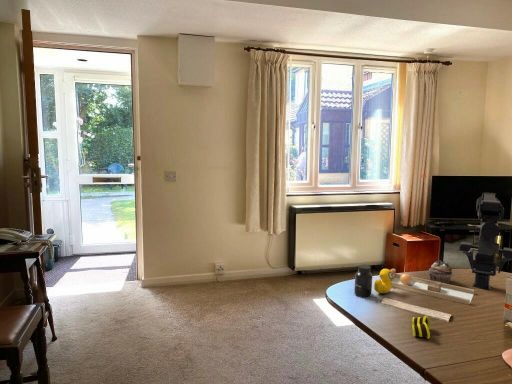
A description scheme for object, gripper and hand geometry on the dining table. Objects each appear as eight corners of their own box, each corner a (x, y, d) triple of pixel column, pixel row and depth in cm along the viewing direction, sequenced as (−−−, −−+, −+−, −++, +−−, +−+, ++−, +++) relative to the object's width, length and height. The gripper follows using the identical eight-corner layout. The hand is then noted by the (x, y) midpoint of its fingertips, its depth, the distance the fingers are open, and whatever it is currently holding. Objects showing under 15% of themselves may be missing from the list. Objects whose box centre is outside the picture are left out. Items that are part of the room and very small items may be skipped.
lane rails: (392, 276, 173) (392, 268, 172) (473, 294, 152) (474, 285, 152) (382, 285, 162) (382, 276, 161) (469, 305, 141) (470, 295, 141)
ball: (406, 285, 163) (400, 275, 165) (416, 281, 161) (409, 270, 162) (402, 288, 160) (396, 277, 162) (412, 283, 157) (405, 273, 159)
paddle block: (431, 280, 159) (441, 282, 156) (430, 287, 159) (440, 289, 157) (427, 285, 152) (438, 288, 150) (427, 292, 153) (437, 295, 150)
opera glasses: (414, 327, 125) (411, 313, 125) (430, 328, 123) (428, 313, 122) (412, 340, 116) (410, 325, 116) (431, 341, 114) (428, 326, 114)
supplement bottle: (353, 296, 149) (354, 268, 147) (355, 290, 155) (356, 263, 154) (370, 299, 146) (372, 270, 145) (372, 293, 153) (373, 265, 151)
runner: (395, 278, 171) (395, 277, 171) (473, 295, 152) (473, 294, 152) (386, 285, 161) (387, 284, 161) (469, 304, 142) (469, 303, 142)
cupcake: (452, 280, 168) (453, 259, 167) (450, 287, 160) (452, 265, 159) (429, 276, 173) (430, 256, 172) (426, 282, 165) (428, 261, 164)
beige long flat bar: (381, 305, 142) (381, 301, 142) (387, 300, 147) (387, 295, 147) (448, 323, 127) (448, 319, 127) (452, 316, 133) (452, 312, 133)
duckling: (386, 287, 159) (387, 265, 158) (397, 291, 155) (398, 268, 153) (370, 293, 152) (371, 270, 151) (381, 297, 148) (382, 273, 147)
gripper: (458, 232, 143) (455, 271, 145) (516, 240, 132) (512, 281, 134) (462, 228, 152) (460, 264, 154) (517, 234, 141) (513, 273, 143)
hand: (485, 270), depth 146 cm, fingers open, 9 cm apart
